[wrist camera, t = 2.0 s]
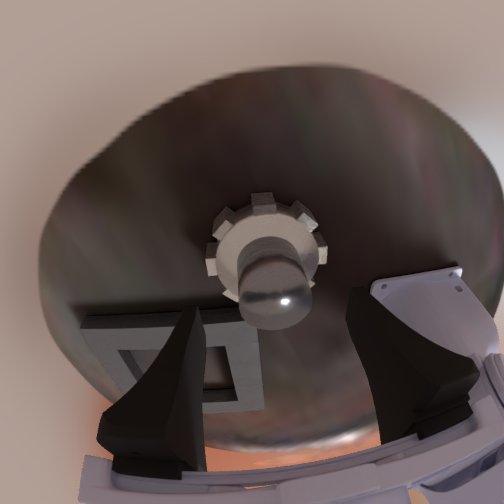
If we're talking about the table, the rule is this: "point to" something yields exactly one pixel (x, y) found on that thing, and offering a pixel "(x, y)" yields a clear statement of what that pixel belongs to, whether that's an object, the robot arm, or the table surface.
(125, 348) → the carrier plate
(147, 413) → the robot arm
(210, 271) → the planet gear
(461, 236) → the table surface
